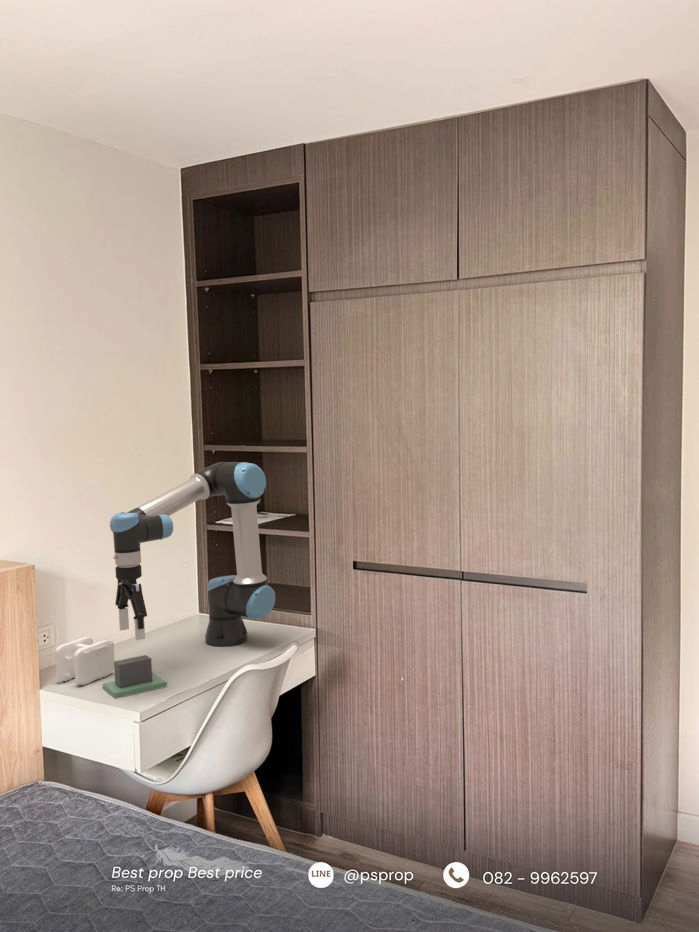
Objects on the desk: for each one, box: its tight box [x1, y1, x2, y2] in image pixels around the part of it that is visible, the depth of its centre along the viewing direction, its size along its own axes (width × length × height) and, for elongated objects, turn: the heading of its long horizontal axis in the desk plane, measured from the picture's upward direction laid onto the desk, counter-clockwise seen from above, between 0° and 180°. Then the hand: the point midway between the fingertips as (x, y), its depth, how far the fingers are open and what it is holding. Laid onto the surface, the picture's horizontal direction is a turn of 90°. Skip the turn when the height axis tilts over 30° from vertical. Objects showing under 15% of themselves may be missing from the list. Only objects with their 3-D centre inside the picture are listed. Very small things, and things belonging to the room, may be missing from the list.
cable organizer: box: [54, 636, 115, 686], centre depth 265 cm, size 15×11×12 cm
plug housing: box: [113, 654, 153, 688], centre depth 255 cm, size 10×4×7 cm, turn 124°
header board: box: [102, 672, 168, 699], centre depth 255 cm, size 16×11×6 cm
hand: (132, 634), depth 254 cm, fingers open, 13 cm apart
